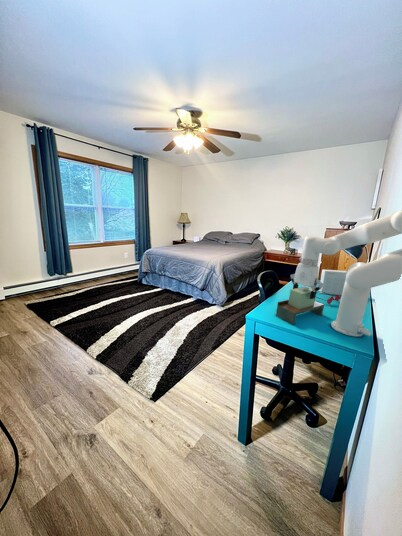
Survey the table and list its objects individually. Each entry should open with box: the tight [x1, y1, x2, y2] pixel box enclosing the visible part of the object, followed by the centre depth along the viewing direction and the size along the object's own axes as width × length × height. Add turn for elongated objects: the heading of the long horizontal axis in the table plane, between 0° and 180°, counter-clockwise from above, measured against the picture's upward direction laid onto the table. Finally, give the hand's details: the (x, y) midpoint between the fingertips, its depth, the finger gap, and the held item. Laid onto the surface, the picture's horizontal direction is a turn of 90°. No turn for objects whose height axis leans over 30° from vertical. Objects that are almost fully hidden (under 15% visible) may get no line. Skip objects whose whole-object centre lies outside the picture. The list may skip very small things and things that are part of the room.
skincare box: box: [318, 269, 347, 296], centre depth 146 cm, size 21×5×16 cm, turn 84°
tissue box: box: [288, 285, 318, 309], centre depth 109 cm, size 6×12×9 cm, turn 120°
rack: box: [275, 298, 325, 325], centre depth 111 cm, size 10×24×8 cm, turn 120°
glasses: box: [316, 290, 341, 305], centre depth 136 cm, size 14×16×5 cm
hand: (303, 295), depth 109 cm, fingers open, 9 cm apart
